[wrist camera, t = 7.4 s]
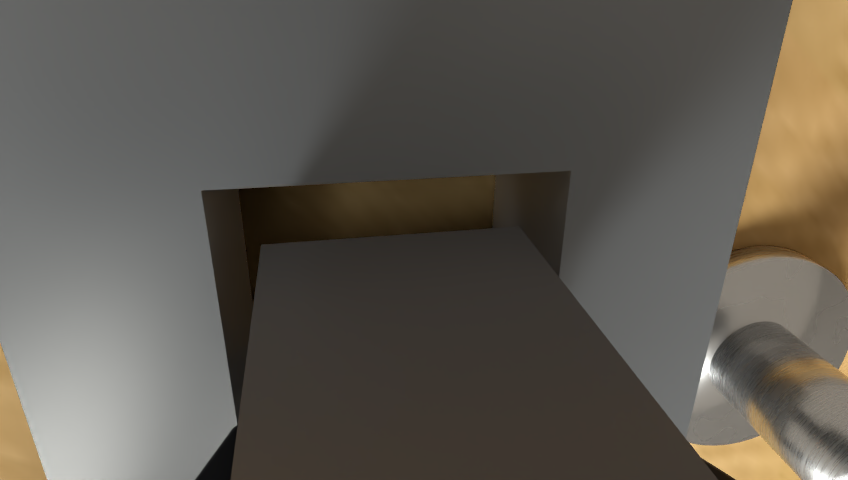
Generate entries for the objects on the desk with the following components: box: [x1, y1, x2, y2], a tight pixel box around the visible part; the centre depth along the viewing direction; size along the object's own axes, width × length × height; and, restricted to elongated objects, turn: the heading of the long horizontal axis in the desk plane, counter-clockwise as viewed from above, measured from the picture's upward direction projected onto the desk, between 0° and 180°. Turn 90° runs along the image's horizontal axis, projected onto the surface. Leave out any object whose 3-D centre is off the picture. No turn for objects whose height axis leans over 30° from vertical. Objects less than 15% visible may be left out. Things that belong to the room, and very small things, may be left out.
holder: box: [0, 0, 793, 480], centre depth 12 cm, size 12×12×4 cm
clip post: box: [686, 246, 848, 480], centre depth 15 cm, size 6×6×5 cm
